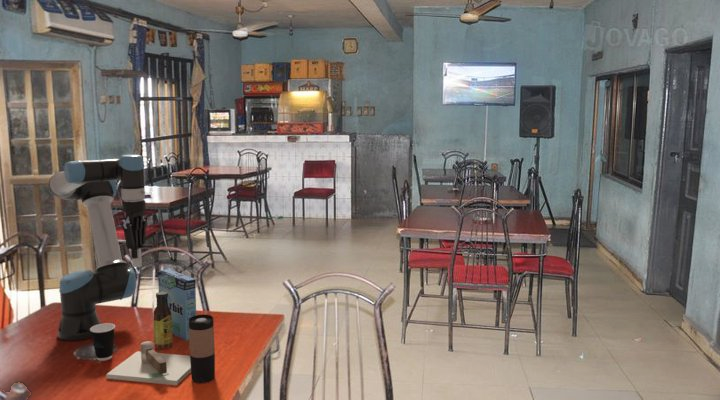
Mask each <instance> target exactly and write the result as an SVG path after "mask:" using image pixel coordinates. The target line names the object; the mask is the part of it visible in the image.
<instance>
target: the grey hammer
mask: <svg viewBox="0 0 720 400" xmlns="http://www.w3.org/2000/svg"><path fill="white" fill-rule="evenodd" d="M154 347H155V345H154V341H149V340H148V341H143V342H141V343H140V352H141V362H142V363H150V364H151V365H152V366H153V367H154V368H155V369H156V370H157V371H158V372H159V373H160V374H164V373H167V366H166V361H165V360H164V359H163V358H162V357H161V356H160V355H159V354H158V353H159V352H157V351H155V349H154Z"/></svg>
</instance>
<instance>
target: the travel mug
mask: <svg viewBox="0 0 720 400" xmlns="http://www.w3.org/2000/svg"><path fill="white" fill-rule="evenodd" d="M214 326H215V325H214V316H212V315H210V314H198V315H197V314H196V316H193V317H191V318H189V340H188V343H189V356H190V363H191V372H190V374H191V381H192V382H193V383H195V384H206V383H210V382H212V381H213V380H215V377H216V369H215V368H216V360H215V359H216V351H215V349H216V347H215V327H214Z"/></svg>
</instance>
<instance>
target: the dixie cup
mask: <svg viewBox="0 0 720 400" xmlns="http://www.w3.org/2000/svg"><path fill="white" fill-rule="evenodd" d="M115 328H116V325H115V324H114V323H109V322H105V323H101V324H98V325H95V326H93V327H91V328H90V331H91V334H92V337H91V338H92V343H93V348H94V354H95V357H96V359H97V361H101V362H105V361H108V360H111V359H112V358H113V355H114V343H115V341H114V340H115Z"/></svg>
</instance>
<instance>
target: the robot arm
mask: <svg viewBox="0 0 720 400" xmlns="http://www.w3.org/2000/svg"><path fill="white" fill-rule="evenodd" d="M63 168H64V170H63V171H59V172H55V173H54V174H53V175H51V176H50V178H49V180H48V182H47V183H48V185H47V187H48V190H49V192H50V193H51V194H52V195H54V196H55V197H56V198H58V199H61V200H65V201H79V200H80V201H81V203H82V205H83V206H84V207H85V208H87V211H88V215H89V216H88V217H89V221H90V227H91V232H92V236H93V237H92V238H93V242H94V246H95V252H96V256H97V262H98V266H97V267H96V268H95V273H94V271H92V270H90V269H84V270H77V271H73V272H70V273H68V274H65V275H64V276H63V277H62V278H60V280H59V294H60V295H59V296H60V297H59V298H60V306H61V307H60V308H61V309H60V310H61V319H60V321H59V325H58V329H57V337H58V339H60V340H62V341H66V342H67V341H68V342H73V341H75V342H76V341H84V340H87V339H91V338H92V334H91V331H90V328H91V327H93V326H95V325H98V324H102V322H101V320H100V317H99V316H98V314H97V311H96V310H97V309H96V305H97V304H104V303H108V302H114V301H119V300H120V301H122V300H124V299H127V298H130V297H132V296H133V294H134V292H135V289H136V285H137V284H136V281H137V280H136V272H135V270H134V268H141V267H143V262H142V249H144V247H145V244H146V232H147V223H148V216H144V212H145V211H146V209H147V208H146V207H147V206H146V204H147V203H146V200H145V198H146V190H145V188H146V187H145V186H146V185H145V163H144V158H143V156H142V155H140V154H123V155H120V157H115V158H108V159H105V158H104V159H90V160H88V159H87V160H77V159H76V160H71V161H67V162H65V164H64V167H63ZM116 181H120V184H121V185H120V186H121V187H120V188H121V200H122V202H121V207H122V212H123V213H125V217H124V218H125V221H124V222H121V224H120V225H121V228H122V229H123V234H124V240H125V244H126V248H127V249H128V250H130V251H131V261H132V262H131V263H132V267H130V266H128V262H127V261H125V260H124V259H123V258H122V253H121V248H120V243H119V239H118V233H117V229H116V225H115V219H114V216H113V210H112V205H111V204H112V202H113V201H114V197H116V195H117V184H116V183H117V182H116Z"/></svg>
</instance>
